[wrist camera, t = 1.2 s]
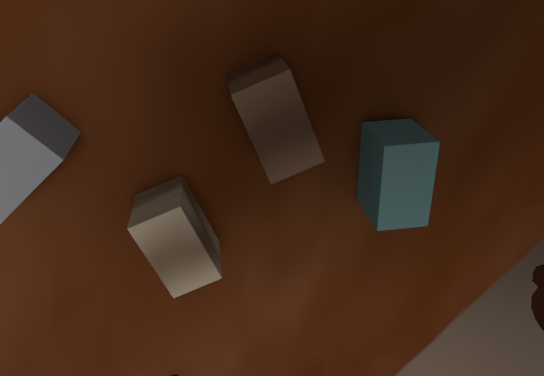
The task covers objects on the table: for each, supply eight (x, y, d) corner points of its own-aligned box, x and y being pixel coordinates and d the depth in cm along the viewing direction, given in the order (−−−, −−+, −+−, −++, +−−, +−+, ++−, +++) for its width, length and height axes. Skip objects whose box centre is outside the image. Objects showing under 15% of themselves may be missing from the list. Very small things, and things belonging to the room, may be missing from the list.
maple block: (136, 194, 32) (127, 229, 28) (182, 174, 32) (180, 206, 28) (176, 258, 35) (173, 298, 31) (219, 240, 35) (221, 278, 31)
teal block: (361, 121, 32) (384, 146, 28) (410, 117, 32) (440, 141, 28) (356, 198, 35) (377, 231, 31) (401, 194, 35) (427, 225, 31)
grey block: (33, 92, 28) (6, 116, 24) (81, 131, 30) (63, 160, 26) (-28, 157, 29) (-63, 190, 26) (21, 191, 31) (-4, 227, 27)
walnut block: (226, 75, 29) (230, 94, 25) (277, 52, 29) (290, 69, 25) (262, 155, 32) (271, 184, 28) (309, 135, 32) (325, 161, 28)
